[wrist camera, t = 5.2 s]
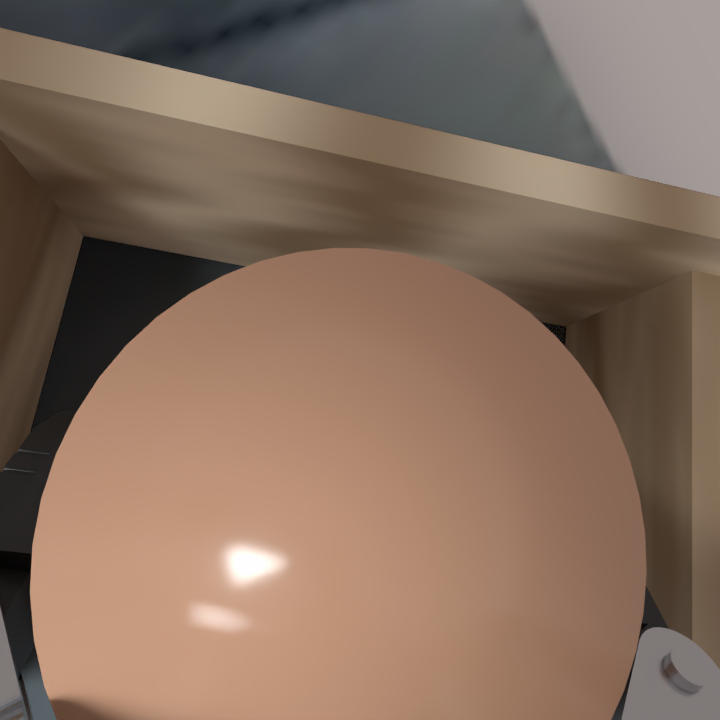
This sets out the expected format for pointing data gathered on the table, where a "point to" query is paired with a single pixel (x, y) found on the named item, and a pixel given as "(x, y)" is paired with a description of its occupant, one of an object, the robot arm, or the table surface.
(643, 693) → the robot arm
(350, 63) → the table surface
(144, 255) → the table surface
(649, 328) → the wooden frame
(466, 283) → the tan round-topped cylinder
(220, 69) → the table surface
